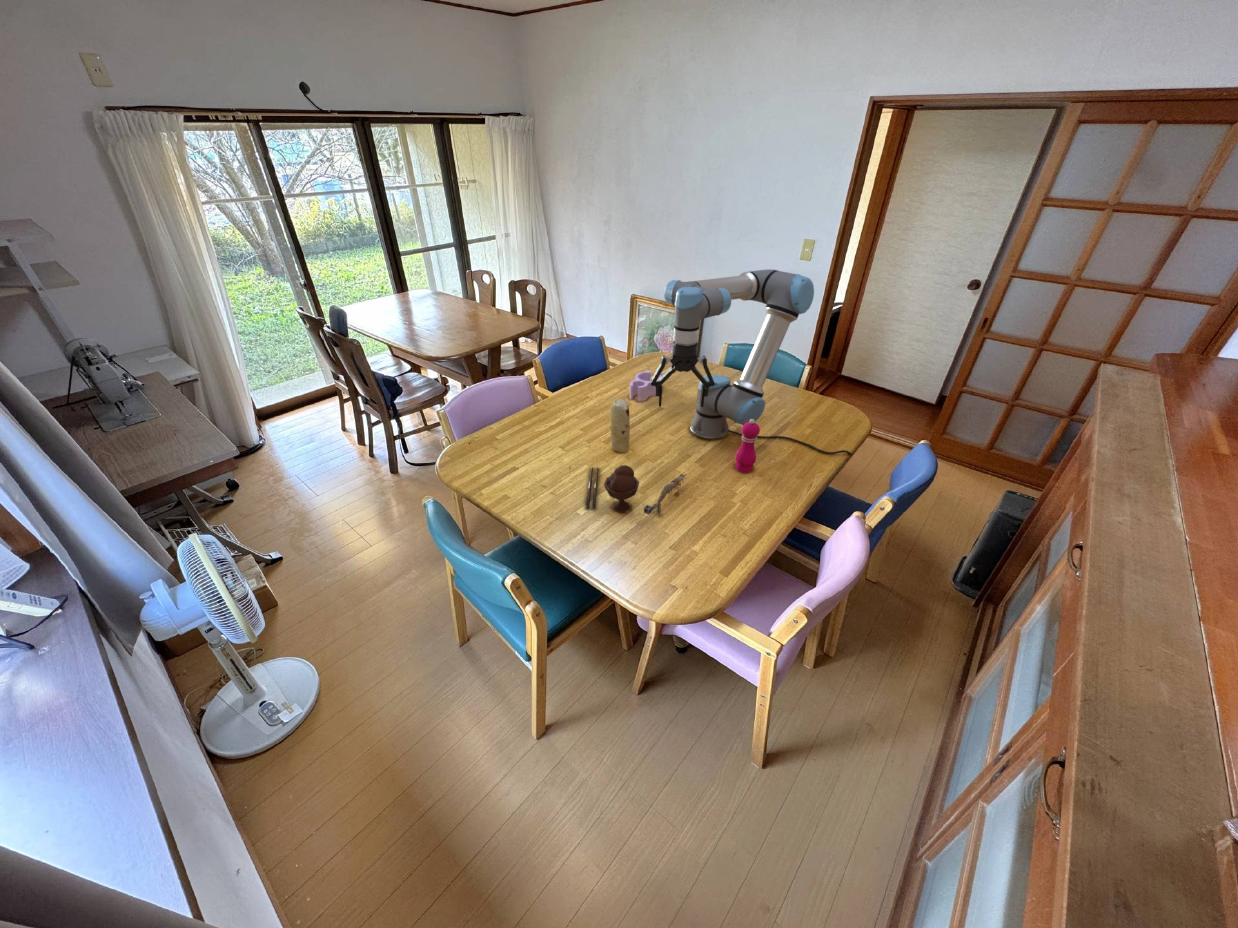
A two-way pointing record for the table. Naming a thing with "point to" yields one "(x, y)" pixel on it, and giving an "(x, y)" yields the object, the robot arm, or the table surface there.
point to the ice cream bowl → (622, 487)
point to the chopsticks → (594, 488)
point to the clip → (642, 386)
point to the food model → (620, 425)
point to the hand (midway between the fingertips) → (680, 405)
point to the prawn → (664, 492)
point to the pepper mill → (747, 447)
